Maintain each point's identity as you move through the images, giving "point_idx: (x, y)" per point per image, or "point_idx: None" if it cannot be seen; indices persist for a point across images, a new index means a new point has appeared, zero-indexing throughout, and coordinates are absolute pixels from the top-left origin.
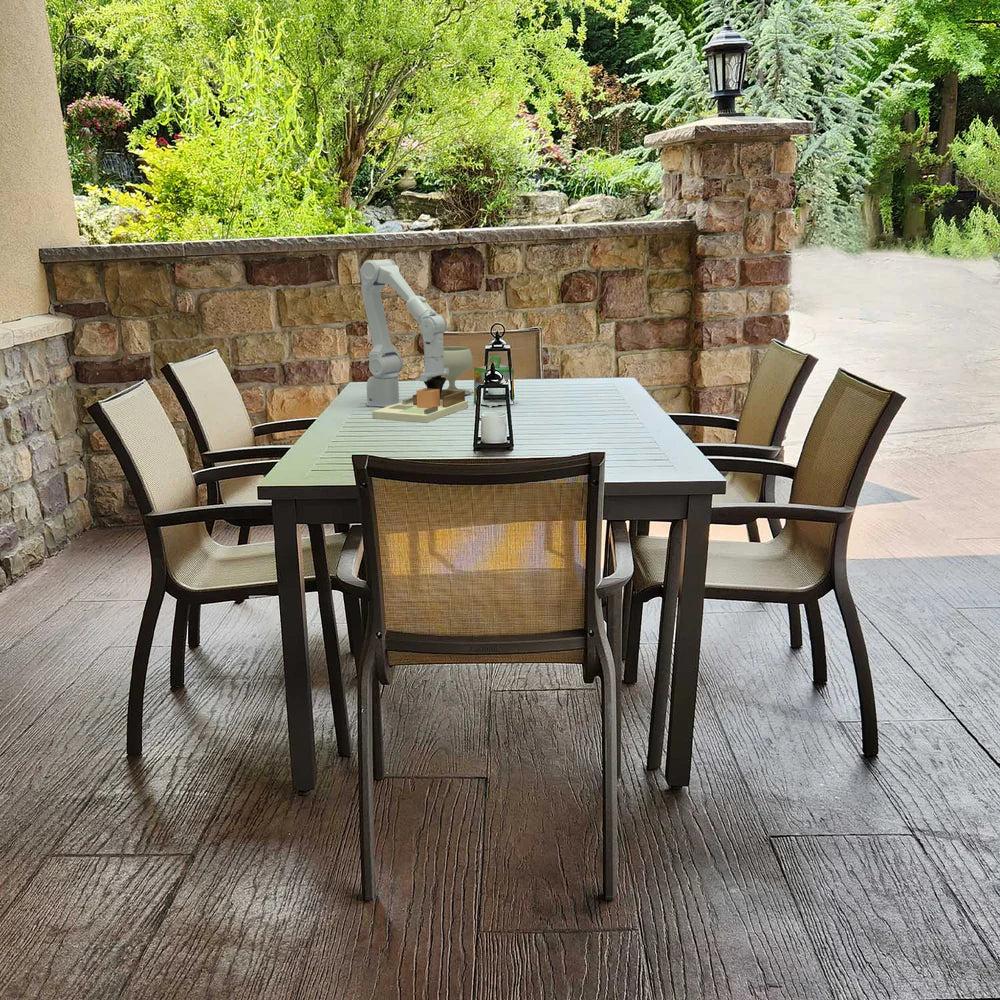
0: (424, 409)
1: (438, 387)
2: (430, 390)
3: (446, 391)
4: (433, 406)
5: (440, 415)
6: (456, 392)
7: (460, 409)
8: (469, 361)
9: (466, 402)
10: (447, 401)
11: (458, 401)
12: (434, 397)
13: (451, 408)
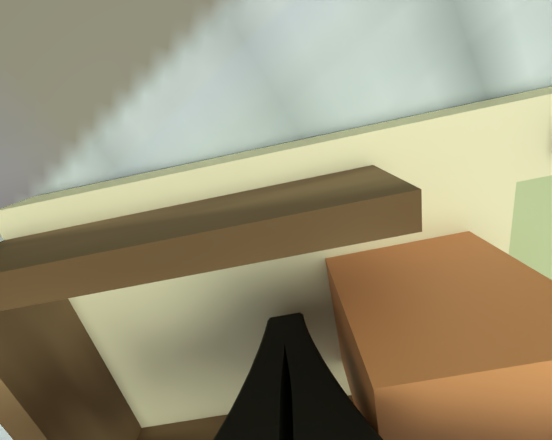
0: (524, 254)
1: (359, 434)
2: (539, 410)
3: (58, 429)
4: (448, 241)
5: (510, 96)
6: (1, 345)
7: (156, 170)
8: None
9: (24, 203)
10: (346, 185)
11: (116, 221)
12: (478, 292)
13: (310, 142)
